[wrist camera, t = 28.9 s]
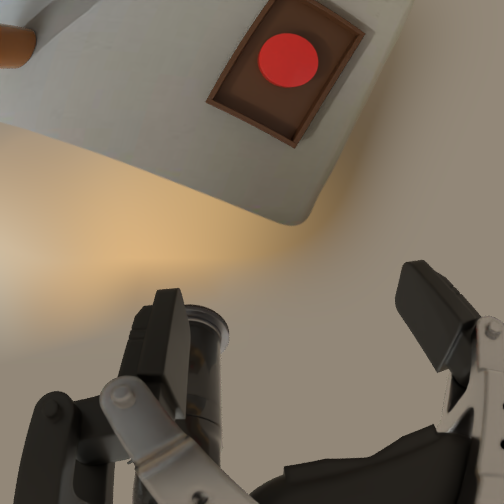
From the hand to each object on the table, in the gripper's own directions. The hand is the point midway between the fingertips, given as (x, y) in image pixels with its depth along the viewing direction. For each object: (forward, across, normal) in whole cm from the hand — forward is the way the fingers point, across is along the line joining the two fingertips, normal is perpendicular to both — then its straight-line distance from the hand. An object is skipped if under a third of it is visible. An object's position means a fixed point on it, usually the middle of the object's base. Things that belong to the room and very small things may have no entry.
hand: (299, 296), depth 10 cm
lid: (+25, -5, -11) cm, 28 cm away
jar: (+28, +29, -21) cm, 45 cm away
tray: (+27, -6, -11) cm, 30 cm away
